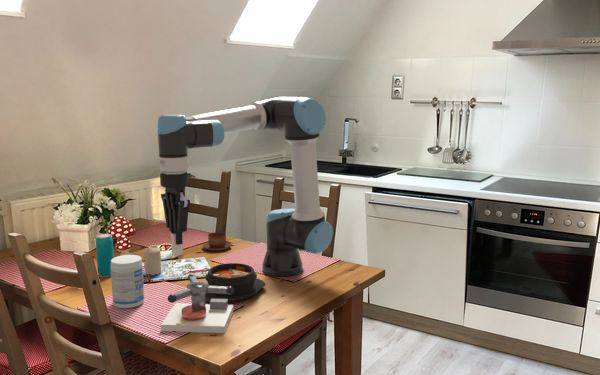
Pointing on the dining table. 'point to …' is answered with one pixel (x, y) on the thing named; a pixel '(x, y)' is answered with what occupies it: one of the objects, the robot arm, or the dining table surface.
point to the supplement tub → (127, 281)
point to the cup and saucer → (217, 242)
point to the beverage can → (104, 254)
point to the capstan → (197, 297)
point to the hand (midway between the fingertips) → (177, 254)
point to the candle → (153, 260)
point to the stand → (211, 323)
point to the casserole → (233, 281)
